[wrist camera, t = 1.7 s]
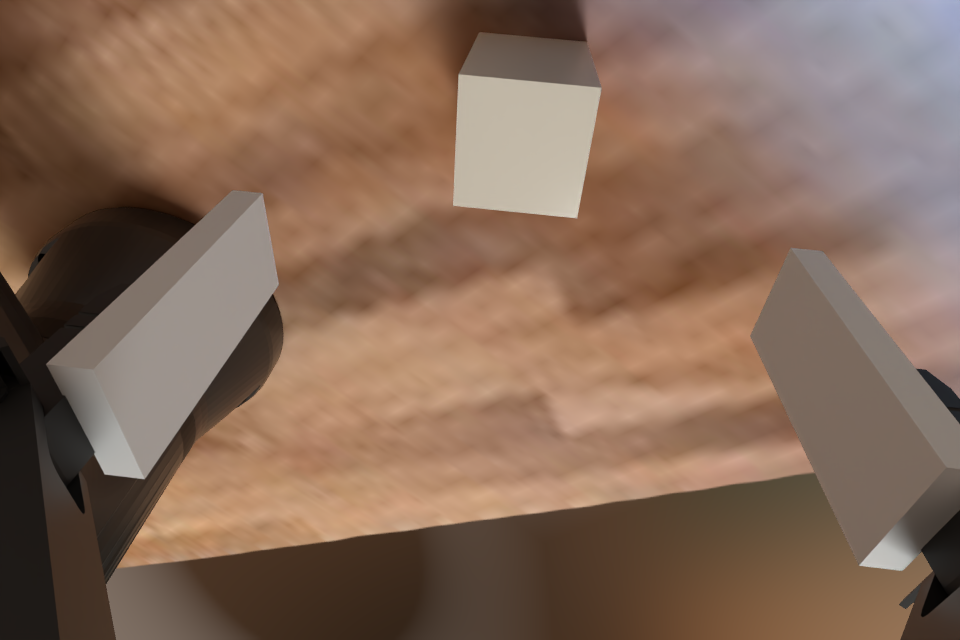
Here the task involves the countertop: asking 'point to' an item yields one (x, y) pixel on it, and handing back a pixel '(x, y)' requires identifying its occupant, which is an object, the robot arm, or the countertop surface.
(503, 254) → the countertop surface
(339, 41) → the countertop surface
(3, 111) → the countertop surface
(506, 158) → the cream rectangular block
